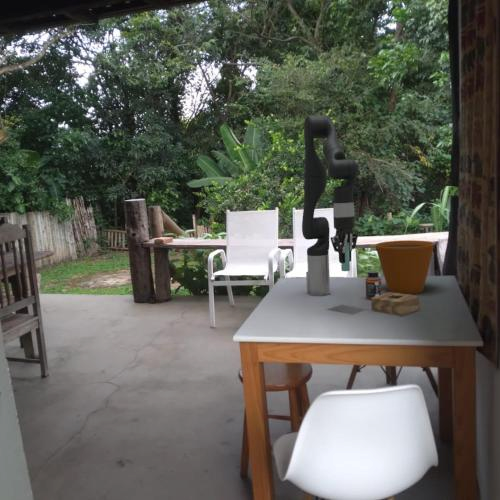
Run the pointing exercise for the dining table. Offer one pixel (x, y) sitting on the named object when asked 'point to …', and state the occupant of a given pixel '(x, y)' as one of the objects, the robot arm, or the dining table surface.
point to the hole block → (395, 303)
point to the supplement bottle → (373, 285)
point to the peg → (346, 259)
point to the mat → (347, 309)
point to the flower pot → (405, 264)
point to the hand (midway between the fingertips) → (345, 261)
